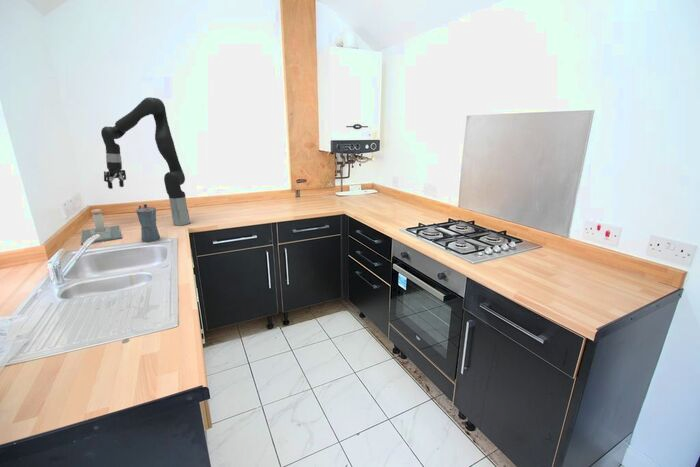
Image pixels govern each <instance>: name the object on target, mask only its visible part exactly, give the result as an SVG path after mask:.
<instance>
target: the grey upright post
mask: <svg viewBox="0 0 700 467" xmlns="http://www.w3.org/2000/svg"><path fill="white" fill-rule="evenodd" d="M90 212H91V216H92V219H93V222H94V228H95V229H96V231H97V232H102V231H105V227H106V226H105V222H104V218H103V215H102V214H103V210H102V208H95V209H91V210H90Z"/></svg>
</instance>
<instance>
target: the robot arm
mask: <svg viewBox="0 0 700 467" xmlns="http://www.w3.org/2000/svg"><path fill="white" fill-rule="evenodd" d="M166 111H167V110H166V107H165V103H164V102H163V101H162V99H160V98H157V97H150V96H149V97H146V98H145V97H144V99H142V101H140V102H139V103H138V104H137V105H136V106H135V107H134V108H133V109H132V110H131V111H130V112H127V114H125V115H124V116H122V117H121V118H119V119H118V120H116V121H115V123H114V126H104V127H102V129H101V138H102V140H103V141H102V142H103V143H104V146H105V160H106V169H107V170H108V171H103V182H106V183H107V188H108V189H109V190H112V189H114V187H113V182H114V180H115V179H118V185H119V187H120V188H123V187H124V186H125V184H124V181H125V180H127V174H126V170H124V169H123V166H122V163H123V162H122V156H121V146H120V145H119V144H118V143H116V140H118V139H121V138H122V137H123V136H125V134H126V133H127V132H128V131H129V130H131V129H133V128H134V127H136V126H137V125H138V123H139V122H140V121H141V120H142V119H143V118H145V117H147V116H150V115H152V116H153V119H154V123H155V130H154V131H155V133H154V140H155V143H156V144H155V145H156V148H157V150H158V152H159V154H160V155H161V157H162V158H163V160H164V161H165V162H166V164H167V166H168V169H169V171H167V172H166V173H165V174H164V178H163V181H164V186H165V190H166V194H167V195H168V200H169V206H170V211H171V212H170V213H171V218H172V224H173V226H180V227H181V226H186V225H189V223H190V224H191V220H190V213H189V209H188V203H187V199H186V193H185V192H184V191H183V190H182V188H181V185H183V184H184V183H185V181H186V176H185V173H184V170H183V169H182V166H181V163H180V161H179V157H178V153H177V150H176V146H175V142H174V138H173V136H172V132H171V130H170V126H169V122H168V117H167V112H166Z"/></svg>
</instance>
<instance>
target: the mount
mask: <svg viewBox="0 0 700 467" xmlns="http://www.w3.org/2000/svg"><path fill="white" fill-rule="evenodd" d="M104 227H105V229H106V231H102V232H96V231H95V229H96V227H93V228H90V229H89V230H90V235H91V237H92V236H93V235H96V234H99V235H100V237H99V238H98V239H97V240H103V239H109V238H112V236H111V231H110V227H111V225H108V226H107V225H106V226H104ZM97 240H95V241H97Z"/></svg>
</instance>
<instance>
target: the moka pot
mask: <svg viewBox="0 0 700 467" xmlns="http://www.w3.org/2000/svg"><path fill="white" fill-rule="evenodd" d="M135 210H136V212H135V213H136V215H137V217H138V218H137V219H138V221H139V224H140V228H141V233H140V234H141V235H140V236H141V238H140V239H141V241H142V242H145V243H153V242H157V241H158V240H159V241H160V239H161V236H160V233H159V230H158V226H157V209H156V207H153V206H148V205H147V204H146V203H145V204H143V206H141V205H139V206H138V208H137V209H135Z"/></svg>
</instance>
